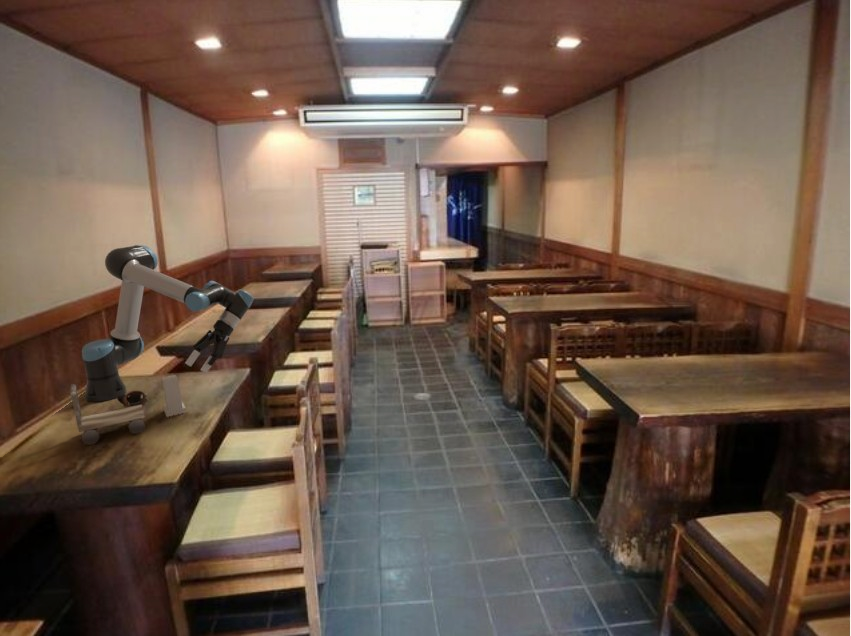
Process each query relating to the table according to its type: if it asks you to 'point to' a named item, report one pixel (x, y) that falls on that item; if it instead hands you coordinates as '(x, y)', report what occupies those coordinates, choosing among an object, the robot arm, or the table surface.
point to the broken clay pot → (132, 398)
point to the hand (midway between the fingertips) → (195, 368)
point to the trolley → (106, 419)
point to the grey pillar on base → (172, 396)
